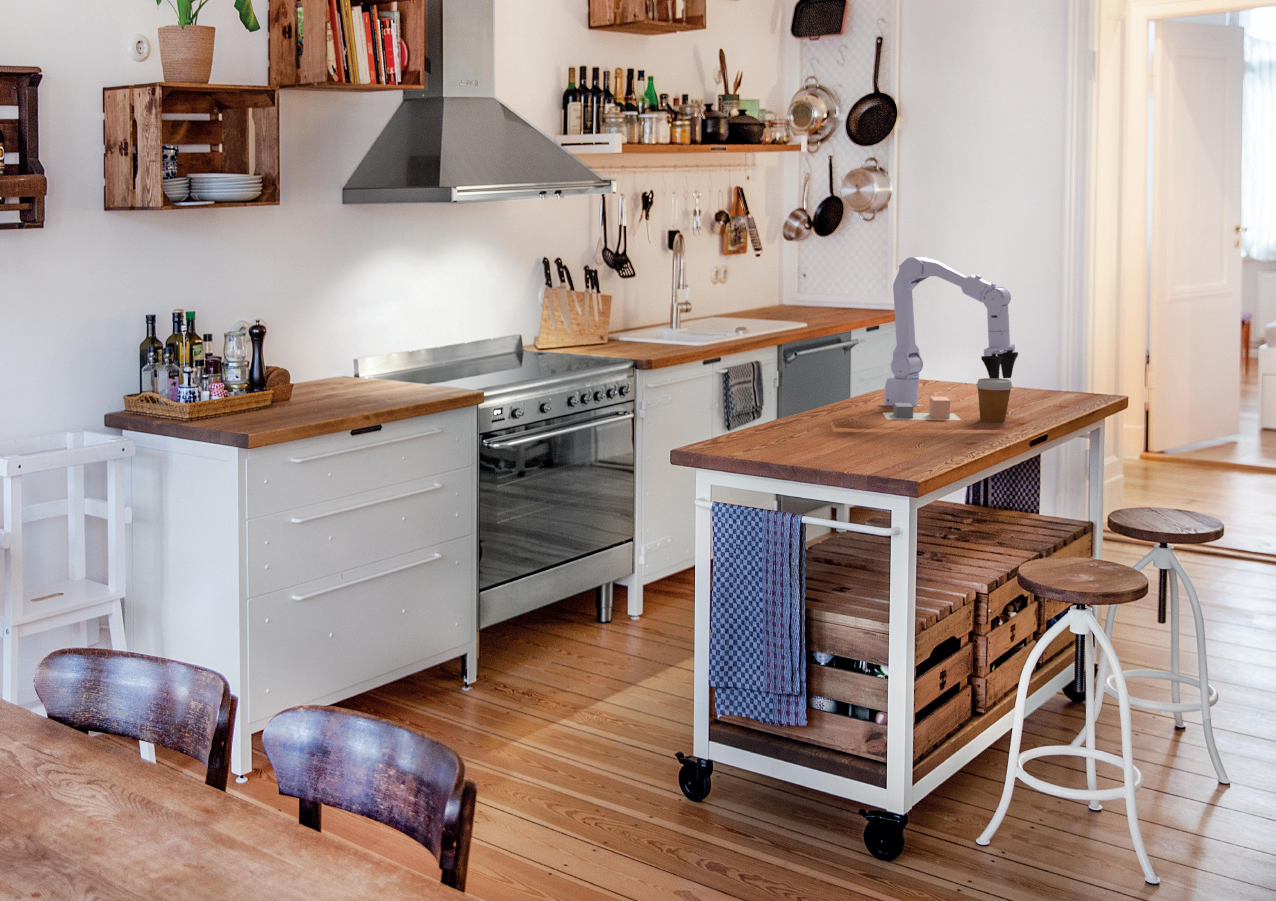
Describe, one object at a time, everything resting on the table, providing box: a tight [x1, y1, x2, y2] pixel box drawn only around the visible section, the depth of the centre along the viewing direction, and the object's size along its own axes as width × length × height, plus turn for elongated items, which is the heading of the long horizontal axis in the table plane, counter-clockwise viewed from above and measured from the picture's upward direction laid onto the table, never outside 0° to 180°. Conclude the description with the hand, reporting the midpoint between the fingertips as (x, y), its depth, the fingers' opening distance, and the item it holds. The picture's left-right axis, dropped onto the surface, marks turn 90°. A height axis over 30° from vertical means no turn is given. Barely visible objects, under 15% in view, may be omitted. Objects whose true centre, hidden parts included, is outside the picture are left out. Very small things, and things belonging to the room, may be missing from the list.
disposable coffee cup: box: [975, 377, 1013, 423], centre depth 340 cm, size 10×10×12 cm
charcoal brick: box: [892, 403, 914, 418], centre depth 348 cm, size 4×7×3 cm, turn 175°
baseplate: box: [882, 412, 962, 421], centre depth 348 cm, size 20×12×1 cm, turn 85°
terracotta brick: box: [928, 396, 951, 419], centre depth 347 cm, size 4×7×5 cm, turn 175°
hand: (1000, 379), depth 352 cm, fingers open, 7 cm apart
